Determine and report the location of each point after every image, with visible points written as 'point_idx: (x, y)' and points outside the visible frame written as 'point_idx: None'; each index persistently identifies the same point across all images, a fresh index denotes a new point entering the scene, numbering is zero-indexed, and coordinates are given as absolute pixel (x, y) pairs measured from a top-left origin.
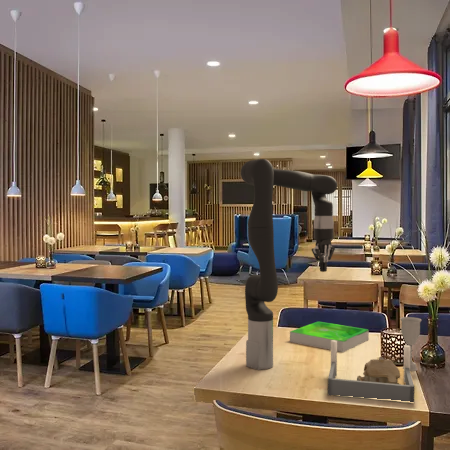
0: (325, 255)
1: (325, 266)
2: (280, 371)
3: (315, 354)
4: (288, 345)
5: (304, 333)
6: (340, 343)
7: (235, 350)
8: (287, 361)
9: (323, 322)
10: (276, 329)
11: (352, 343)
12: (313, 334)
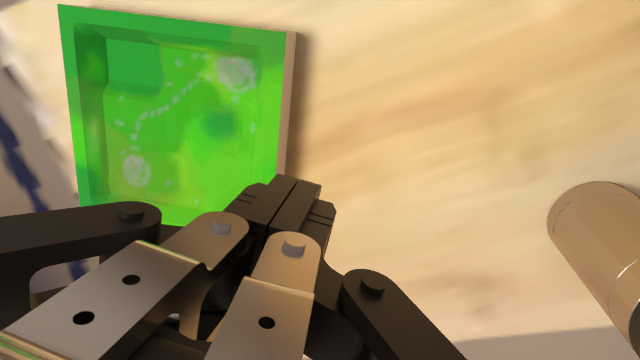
0: (281, 287)
1: (288, 201)
2: (631, 141)
3: (375, 110)
4: None
5: None
6: (288, 44)
7: (460, 338)
8: (503, 162)
9: (81, 194)
10: None
11: (213, 22)
12: (225, 178)
